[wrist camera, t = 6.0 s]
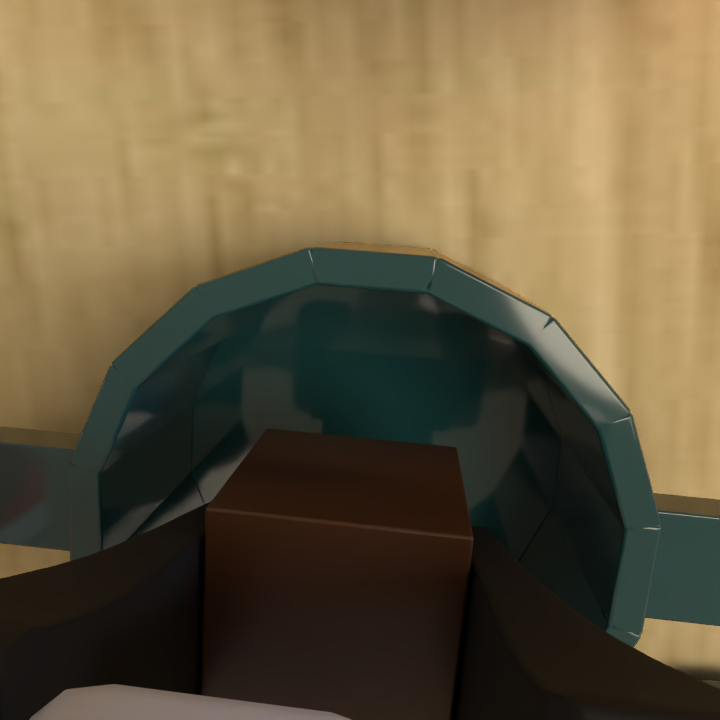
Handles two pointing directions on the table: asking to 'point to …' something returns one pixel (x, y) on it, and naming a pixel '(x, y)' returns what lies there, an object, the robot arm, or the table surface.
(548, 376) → the pot
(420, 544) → the block
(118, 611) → the robot arm
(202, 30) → the table surface
